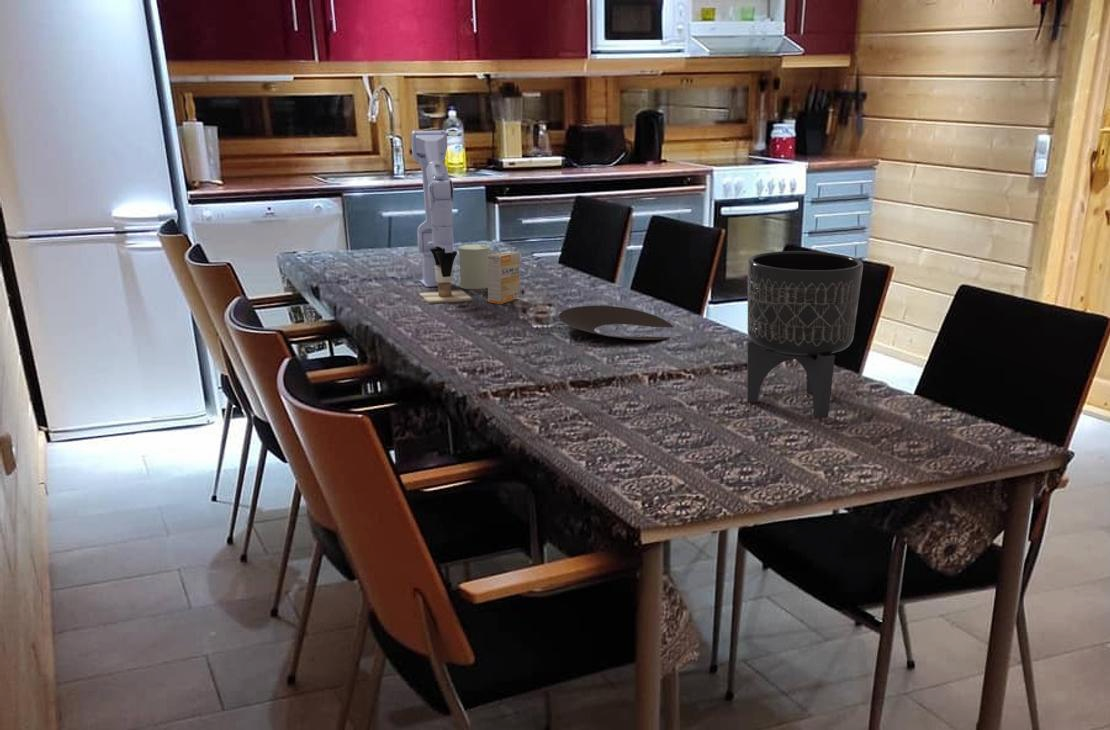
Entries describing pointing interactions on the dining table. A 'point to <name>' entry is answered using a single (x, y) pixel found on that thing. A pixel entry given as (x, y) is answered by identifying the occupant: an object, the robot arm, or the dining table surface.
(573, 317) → the plate
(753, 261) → the planter
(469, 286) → the can
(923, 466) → the dining table surface
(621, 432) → the dining table surface
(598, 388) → the dining table surface
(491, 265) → the supplement box
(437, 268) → the cap
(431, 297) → the square wooden board
